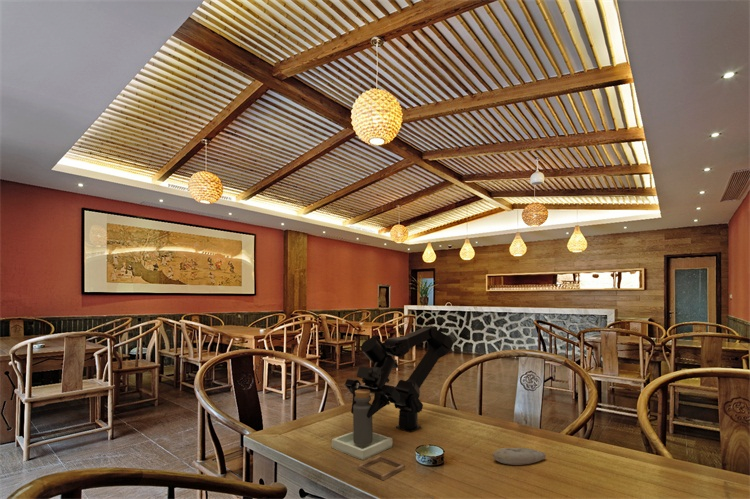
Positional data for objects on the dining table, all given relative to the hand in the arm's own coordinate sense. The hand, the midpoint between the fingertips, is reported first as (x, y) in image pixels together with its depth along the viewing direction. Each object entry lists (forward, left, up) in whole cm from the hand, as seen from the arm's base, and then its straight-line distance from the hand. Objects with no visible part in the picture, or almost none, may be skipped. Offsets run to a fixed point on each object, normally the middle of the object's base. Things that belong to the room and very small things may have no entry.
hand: (359, 415), depth 123 cm
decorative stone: (-24, +39, -10) cm, 47 cm away
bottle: (-1, 0, -8) cm, 8 cm away
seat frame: (+6, +14, -10) cm, 18 cm away
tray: (-1, 0, -10) cm, 10 cm away
